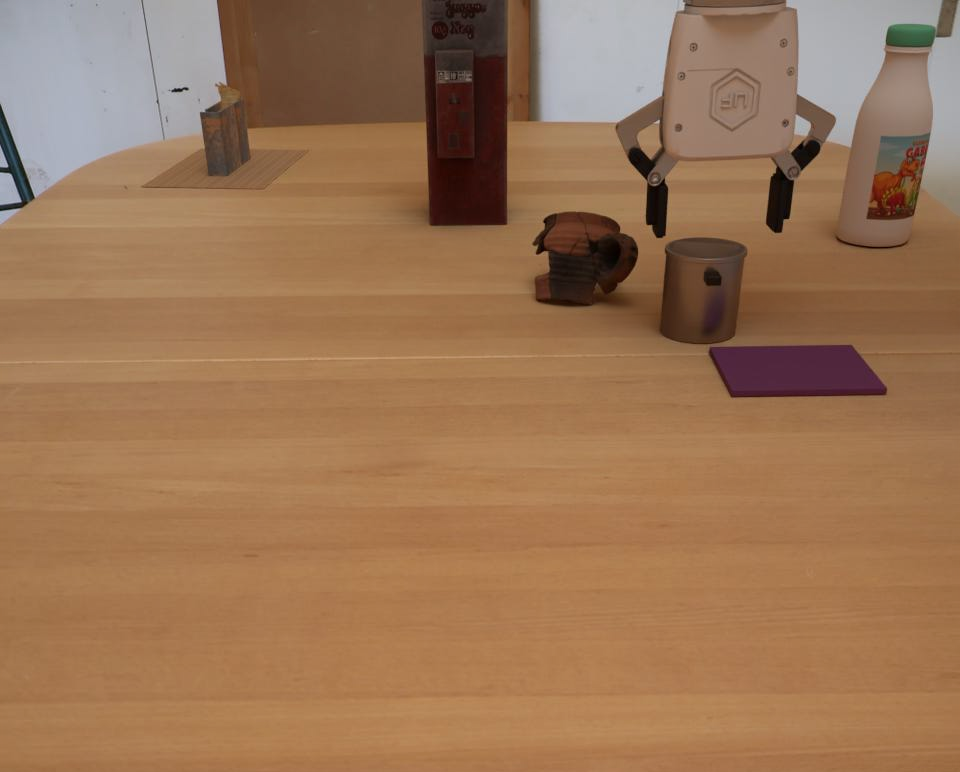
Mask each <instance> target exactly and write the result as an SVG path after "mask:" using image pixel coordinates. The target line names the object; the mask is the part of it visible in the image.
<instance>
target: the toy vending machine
mask: <svg viewBox="0 0 960 772" xmlns="http://www.w3.org/2000/svg"><path fill="white" fill-rule="evenodd" d="M421 12H422V13H421V16H422V19H421V20H422V42H423V43H422V44H423V45H422V46H423V72H424V102H425V105H424V106H425V129H426V130H425V131H426V157H427V158H426V159H427V161H426V162H427V184H428V185H427V187H428V213H429V214H428V215H429V226H478V225H479V226H497V225H501V226H503V225H508V81H509V80H508V77H509V76H508V70H509V69H508V68H509V67H508V65H509V64H508V61H509V59H508V58H509V57H508V55H509V54H508V53H509V52H508V51H509V50H508V47H509V46H508V45H509V43H508V41H509V40H508V39H509V32H508V31H509V30H508V28H509V26H508V25H509V0H421Z"/></svg>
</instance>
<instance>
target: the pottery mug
mask: <svg viewBox="0 0 960 772" xmlns="http://www.w3.org/2000/svg"><path fill="white" fill-rule="evenodd" d="M542 223H543V224H544V229H543V230H541V231H540V232H539V234H538V235H537V236H536V237H535V238H534V240H533V241H532V243H531V244H532V246H534V247H537V248H536V250H535V255H537V256H538V255H541V254H542V253H544V252H547V257H548V267H549V270H548V272H546V273H542V274H539V275H536V276H535V277H534V286H535V287H534V290H535V300H536V301H548V300H559V301H560V300H561V301H563V302H567V303H568V302H569V303H578V304H585V305H587V306H588V305H589V306H590V305H592V304H593V300H594V293H596V288H597V285H598V286H599V287H600V289H601V291H602V292H603V293H604V294H605V295H608V294H611V293H613V292H614V291H615V290H617V289H616V288H617V287H618V285H619V284H620V283H623V282H624V281H625V280H626V279H627V278H628V277H629V276H630V274H631V273H632V272H633V270H634V268H635V267H636V265H637V262H638V259H639V246H638V244H637V242H636V240H635V239H634V237H633V236H631V235H628V234H626V233H623V232H621V225H620V224H619V223H618V222H617V221H616V220H615V219H613V218H611V217H609V216H607V215H603V214H599V213H594V212H587V211H574V210H573V211H562V212H558V213H557V212H556V213H555V212H554V213H551V214H549V215H547V216H546V217H544V218H543V220H542Z"/></svg>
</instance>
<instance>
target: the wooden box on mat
mask: <svg viewBox="0 0 960 772" xmlns="http://www.w3.org/2000/svg"><path fill="white" fill-rule="evenodd" d="M218 83H219V84H218ZM218 83H214V86H215V88H217V91H218V94H219V97H220V100H219V101H218V102H216V103H215V104H213V105H211V106H209V107H207V108H205V109H204V111H199V115H200V116H199V117H200V125H201V131H202V132H201V133H202V140H203V145H204V148H200V149H198V150H196V151H195V152H193V153H192V154H190V155H189V156H187V157H186V158H184V159H182V160H181V161H179V162H178V163H177V164H176V163H175V164H174V165H173V166H171V167H170V168H168V169H166V170H165V171H164V172H162V173H160V174H159V175H157V176H155V177H154V178H152V179H151V180H150V181H147V183H146V182H145V184H143V185H141V188H185V189H186V188H187V189H188V188H189V189H190V188H191V189H238V190H239V189H243V190H244V189H245V190H246V189H247V190H248V189H249V190H264V189H265V188H266V187H267V186H269V185H270V184H271V183H272V182H273V181H275V180H276V179H277V178H278V177H279V176H280V175H281V174H283V173H284V172H285V171H286V170H288V169H289V168H290V167H291V166H292V165H294V163H296V162H297V161H298V160H299V159H301V157H303V156H304V155H305V154H306V153H308V152H309V149H259V148H258V149H256V148H255V149H254V148H252V149H251V148H250V143H249V142H250V141H249V133H248V132H249V131H248V125H247V117H246V107H245V99H244V97H241V91H239V90H236V89H234V88H232V87H230V86H228V85H226V84H225V83H223V82H221V81H219V82H218Z"/></svg>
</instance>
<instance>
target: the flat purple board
mask: <svg viewBox="0 0 960 772" xmlns="http://www.w3.org/2000/svg"><path fill="white" fill-rule="evenodd" d="M708 347H709V349H708V353H709V355H710V358H711V359H712V361H713V363H714V365H715V367H716V369H717V372H718V373H719V375H720V377H721V379H722V381H723V383H724V385H725V387H726V389H727V390H728V392H729V394H730V396H731V397H732V398H733V397H734V398H737V397H738V398H739V397H796V396H797V397H798V396H800V397H801V396H803V397H805V396H808V397H809V396H860V395H861V396H867V395H887V392H888V387H887V386H886V385H885V383H884V382H883V381H882V380H881V378H879V376H878V375H877V374H876V373H875V371H874V370H873V369H872V368H871V367H870V365H869V364H868V363H867V362H866V360H865V359H864V358H863V357H862V356H861V355H860V353H859V352H858V350H856V348H855V347H854V346H853V344H812V345H809V344H808V345H743V346H742V345H739V346H738V345H737V346H734V345H733V346H708Z"/></svg>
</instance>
